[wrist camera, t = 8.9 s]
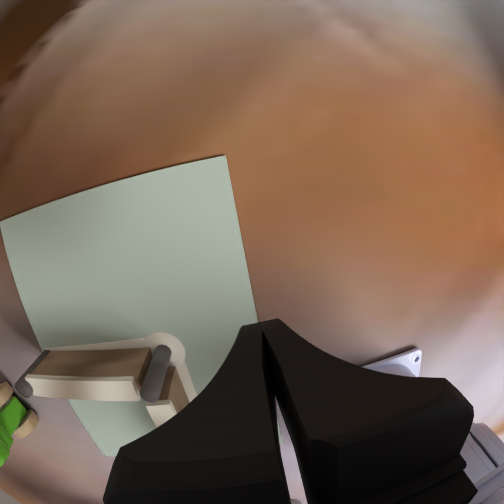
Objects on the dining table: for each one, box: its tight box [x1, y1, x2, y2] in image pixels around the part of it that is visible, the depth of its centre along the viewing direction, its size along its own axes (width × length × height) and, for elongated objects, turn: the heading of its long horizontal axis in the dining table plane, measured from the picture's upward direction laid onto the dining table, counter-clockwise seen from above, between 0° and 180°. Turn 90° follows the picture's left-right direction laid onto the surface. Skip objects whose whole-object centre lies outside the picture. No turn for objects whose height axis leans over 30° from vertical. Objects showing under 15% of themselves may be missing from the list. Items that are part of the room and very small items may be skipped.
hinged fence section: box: [15, 347, 152, 401], centre depth 18 cm, size 10×2×5 cm, turn 97°
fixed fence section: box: [139, 345, 190, 427], centre depth 19 cm, size 12×2×5 cm, turn 10°
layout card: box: [0, 155, 282, 456], centre depth 20 cm, size 24×18×1 cm
